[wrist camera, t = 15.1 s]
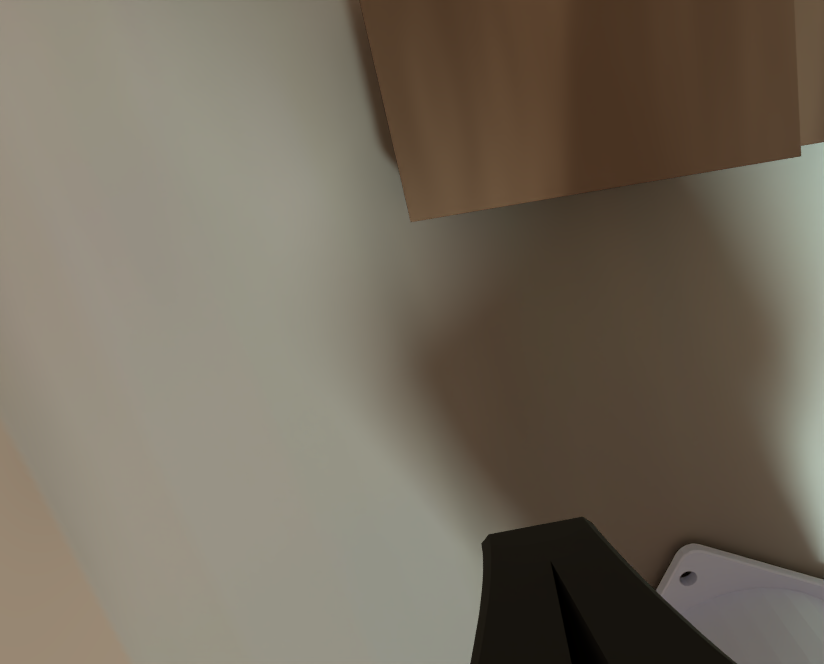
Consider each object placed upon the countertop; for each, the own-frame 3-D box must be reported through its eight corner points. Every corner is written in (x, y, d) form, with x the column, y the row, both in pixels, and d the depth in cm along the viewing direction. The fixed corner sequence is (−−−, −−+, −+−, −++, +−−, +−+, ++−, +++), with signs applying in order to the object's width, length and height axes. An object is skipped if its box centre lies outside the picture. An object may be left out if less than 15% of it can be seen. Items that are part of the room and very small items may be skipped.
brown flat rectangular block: (381, -3, 17) (772, -111, 14) (427, 205, 18) (785, 142, 16) (358, -4, 15) (788, -124, 13) (411, 222, 17) (801, 156, 14)
